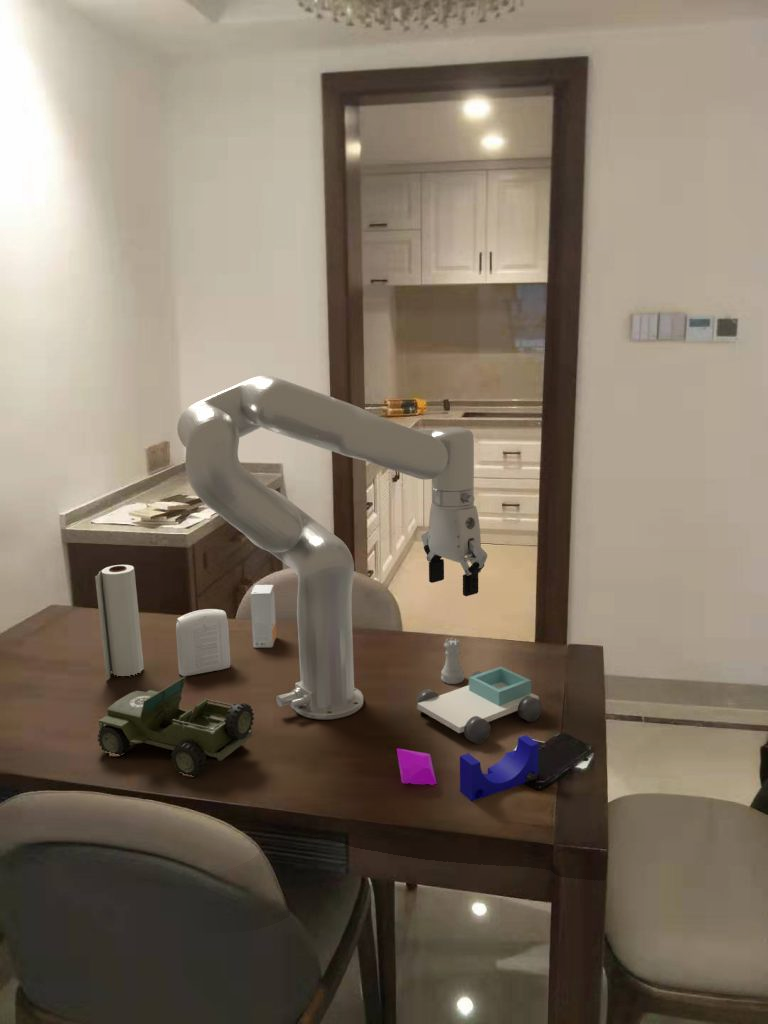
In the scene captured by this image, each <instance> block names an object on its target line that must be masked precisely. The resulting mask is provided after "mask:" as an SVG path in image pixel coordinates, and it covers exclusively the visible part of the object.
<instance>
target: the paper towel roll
mask: <svg viewBox="0 0 768 1024" xmlns="http://www.w3.org/2000/svg"><path fill="white" fill-rule="evenodd" d="M135 573H136V572H135V566H133V565H130V564H116V565H110V566H107V567H105V568H103V569H101V570H100V571H99V572H98V574H97V575H95V577H94V578H95V587H96V598H97V599H96V600H97V605H98V606H97V607H98V614H99V615H98V617H99V625H100V626H99V627H100V636H101V643H102V644H101V645H102V652H103V661H104V671H105V672H104V673H105V680H106V679H107V678H108V677H109V676H110V677H111V675H110V673H111V671H112V673H111V674H114V675H113V676H115V675H117V676H116V677H118V676H129V677H131V676H130V675H133V676H136V675H138V674H137V673H139V674H141V673H142V672H143V671H144V668H145V667H144V657H143V655H144V654H143V648H142V647H143V646H142V635H141V625H140V623H141V622H140V616H139V615H140V614H139V605H138V604H139V603H138V593H137V585H136V574H135ZM142 670H143V671H142ZM141 671H142V672H141ZM135 674H136V675H135ZM110 677H109V678H110ZM107 680H108V679H107Z"/></svg>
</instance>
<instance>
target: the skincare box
mask: <svg viewBox="0 0 768 1024" xmlns="http://www.w3.org/2000/svg"><path fill="white" fill-rule="evenodd" d="M251 590H252V591H251V592H250V595H249V596H250V612H251V613H250V614H251V633H252V648H255V649H256V648H257V649H258V648H260V649H261V648H273V647H274V644H275V641H276V639H277V623H276V602H275V586H274V584H255V585H253V588H252V589H251Z"/></svg>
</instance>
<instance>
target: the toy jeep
mask: <svg viewBox="0 0 768 1024" xmlns="http://www.w3.org/2000/svg"><path fill="white" fill-rule="evenodd" d="M186 678H187V676H182V677H181V678H179V679H177V680H176V681H174V682H173V683H171V684H170V685H167V686H166V687H164V688H163V689H161V690H159V691H155V690H152V689H149V690H147V691H142V690H141V691H140V690H135V691H132V692H130V693H128V694H126V695H124V696H123V697H121V698H119V699H118V700H116V701H114V702H113V704H111V705H110V706H109V707H108V708H107V714H106V715H105V716H104V717H102V718H101V719H99V720H98V724H99V731H98V734H97V742H98V745H99V747H101V748H100V749H101V751H102V750H103V751H104V752H105V751H107V752H111V753H115V754H119V755H121V754H123V753H125V754H126V753H127V752H128V751H129V750H130V748H131V746H132V745H131V744H143V743H145V744H147V745H151V746H155V747H159V748H163V749H166V750H171V754H170V755H171V759H170V761H172V766H173V767H175V768H174V769H175V771H178V772H182V773H184V774H188V775H192V776H195V777H197V776H199V775H200V774H202V773H203V772H204V770H205V768H206V767H207V759H206V758H207V756H208V757H212V758H216V759H217V760H218V761H220V762H221V761H223V760H224V759H225V758H226V757H228V756H229V755H231V754H232V753H233V752H234V751H236V750H237V749H238V748H239V747H241V746H242V745H243V744H244V743H246V742H248V740H250V739H251V738H252V737H253V730H252V726H253V724H254V722H253V721H254V719H255V718H254V715H255V713H254V712H253V711H254V710H253V708H252V706H251V705H249V704H248V703H246V702H236V703H233V704H232V703H227V702H221V701H218V700H214V699H213V700H212V699H210V698H209V699H208V698H207V697H206V698H203V700H202V701H200V702H199V703H197V704H196V705H195V706H194V708H190V709H189V710H185V709H184V708H183V709H182V708H180V703H181V701H182V693H183V689H184V685H185V681H186ZM215 703H216V704H215ZM224 745H225V746H224ZM223 746H224V748H223ZM226 746H227V747H226ZM222 748H223V749H222ZM220 749H222V750H220ZM219 750H220V751H219ZM218 751H219V752H218Z"/></svg>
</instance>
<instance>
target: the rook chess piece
mask: <svg viewBox="0 0 768 1024" xmlns="http://www.w3.org/2000/svg"><path fill="white" fill-rule="evenodd" d="M443 647H444V648H445V650H446V651H445V652H444V654H445V663H444V666H443V668H442V670H441V673H440V674H441V675H440V679H441V681H443V682H444V683H446V684H448V685H458V684H460V683H462V682H463V681H464V679H465V671H464V670H463V667H462V666H461V663H460V654H461V651H460V648H461V647H462V644H461V642H460V640H459V639H458V638H454V637H450V638H449V637H448V638H446V639H445V643H443Z"/></svg>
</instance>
